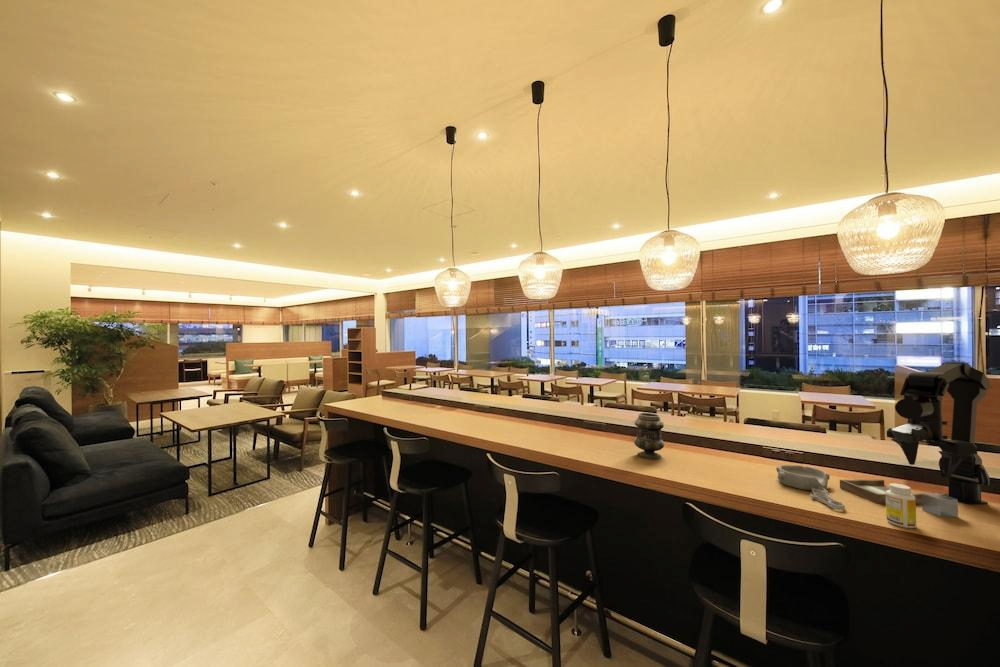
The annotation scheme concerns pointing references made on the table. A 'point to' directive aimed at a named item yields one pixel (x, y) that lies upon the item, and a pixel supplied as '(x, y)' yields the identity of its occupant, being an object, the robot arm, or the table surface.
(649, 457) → the apothecary jar
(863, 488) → the brown square tray
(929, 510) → the clip
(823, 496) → the bracket
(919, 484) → the table surface
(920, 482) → the table surface
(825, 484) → the dish
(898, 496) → the supplement bottle
